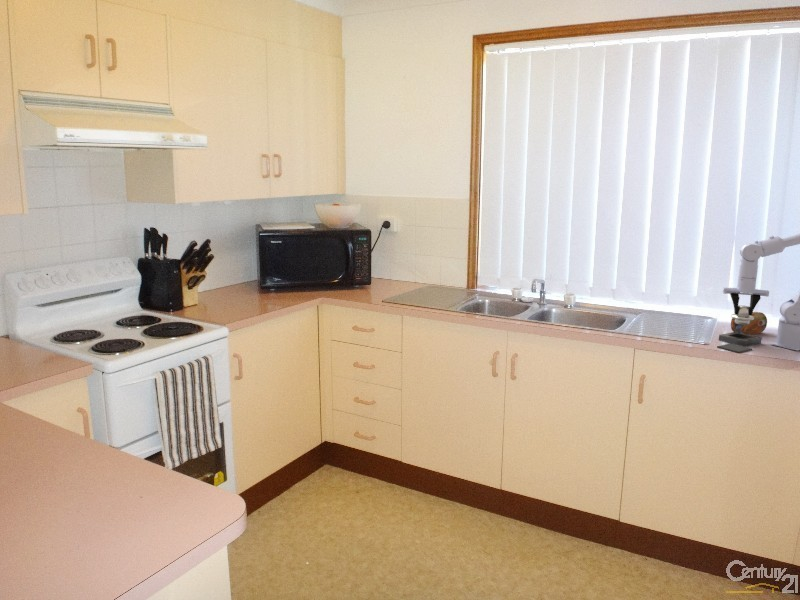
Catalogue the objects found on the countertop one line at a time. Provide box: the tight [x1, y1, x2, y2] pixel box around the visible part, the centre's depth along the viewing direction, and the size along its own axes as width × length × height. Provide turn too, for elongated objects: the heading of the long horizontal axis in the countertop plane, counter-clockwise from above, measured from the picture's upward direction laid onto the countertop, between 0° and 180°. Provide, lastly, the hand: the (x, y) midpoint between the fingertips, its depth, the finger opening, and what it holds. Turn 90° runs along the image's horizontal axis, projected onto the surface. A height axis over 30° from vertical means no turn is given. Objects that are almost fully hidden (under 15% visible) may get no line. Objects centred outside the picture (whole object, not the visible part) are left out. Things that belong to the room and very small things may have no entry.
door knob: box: [730, 305, 754, 325], centre depth 235 cm, size 7×7×6 cm
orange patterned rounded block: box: [730, 311, 768, 335], centre depth 248 cm, size 15×3×8 cm, turn 105°
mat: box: [716, 343, 753, 354], centre depth 227 cm, size 8×8×1 cm
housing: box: [718, 331, 763, 347], centre depth 237 cm, size 10×10×2 cm
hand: (742, 314), depth 235 cm, fingers closed on door knob, 4 cm apart
